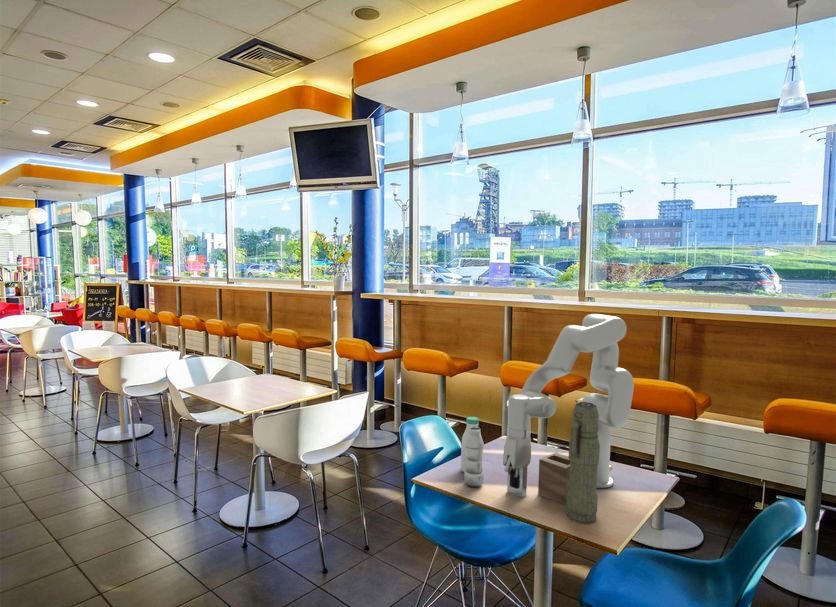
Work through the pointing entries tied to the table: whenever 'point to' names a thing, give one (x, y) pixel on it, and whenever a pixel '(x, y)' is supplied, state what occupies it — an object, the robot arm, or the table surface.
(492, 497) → the table surface
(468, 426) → the milk bottle
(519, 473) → the white block
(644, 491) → the table surface
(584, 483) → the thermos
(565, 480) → the slotted wooden block
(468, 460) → the plastic bottle
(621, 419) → the robot arm
